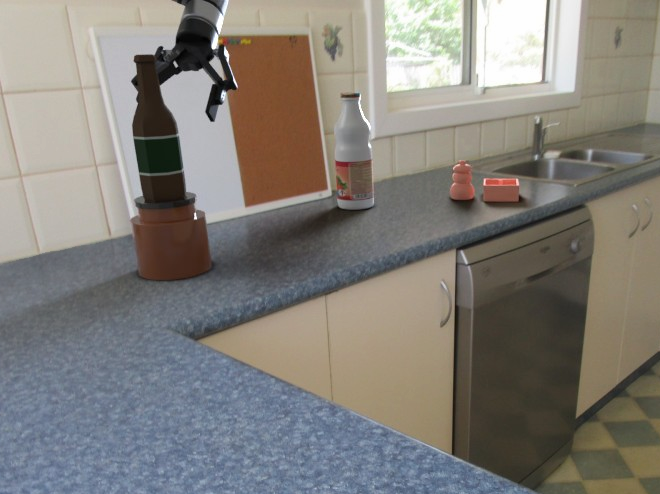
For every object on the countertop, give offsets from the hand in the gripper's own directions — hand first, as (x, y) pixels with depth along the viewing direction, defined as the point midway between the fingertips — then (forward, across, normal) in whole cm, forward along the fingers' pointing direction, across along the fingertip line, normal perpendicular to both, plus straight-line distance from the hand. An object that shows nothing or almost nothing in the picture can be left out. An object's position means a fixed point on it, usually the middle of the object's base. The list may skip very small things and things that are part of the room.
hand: (174, 117), depth 121 cm
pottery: (-23, -55, -61) cm, 85 cm away
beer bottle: (+15, 0, -4) cm, 15 cm away
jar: (+24, 0, -13) cm, 28 cm away
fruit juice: (-14, -23, -52) cm, 59 cm away
